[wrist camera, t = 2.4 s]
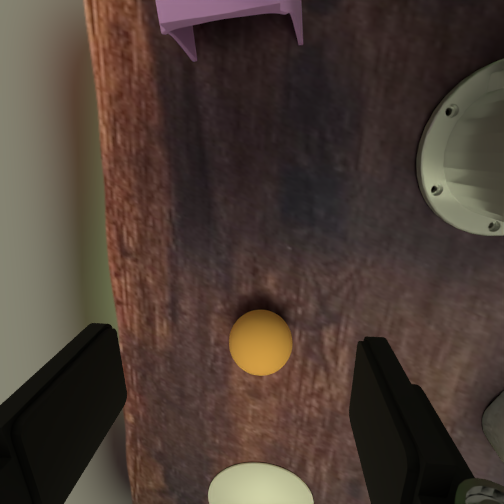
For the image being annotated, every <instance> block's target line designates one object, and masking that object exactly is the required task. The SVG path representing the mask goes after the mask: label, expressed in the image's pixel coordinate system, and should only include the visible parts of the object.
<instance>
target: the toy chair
mask: <svg viewBox="0 0 504 504" xmlns="http://www.w3.org/2000/svg"><path fill="white" fill-rule="evenodd" d="M156 6H157V12H158V18H159V24H160V28H161V33H162V34H166V35H167V33H168V34H169V35H171V36H172V37H173V38H174V39H175V40H176V41H177V43H178V44H179V45H180V46H181V47H182V49H183V50H184V51H185V52H186V54H187V55H188V56H189V58H190V59H191V60H192V61H193V62H195V61H197V54H196V46H195V39H194V32H193V25H197V24H202V23H206V22H211V21H216V20H222V19H229V18H236V17H244V16H252V15H259V14H267V13H278V14H283V15H286V14H288V13H290V15H291V18H292V21H293V25H294V28H295V32H296V36H297V41H298V45H303V24H302V4H301V0H156Z"/></svg>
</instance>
